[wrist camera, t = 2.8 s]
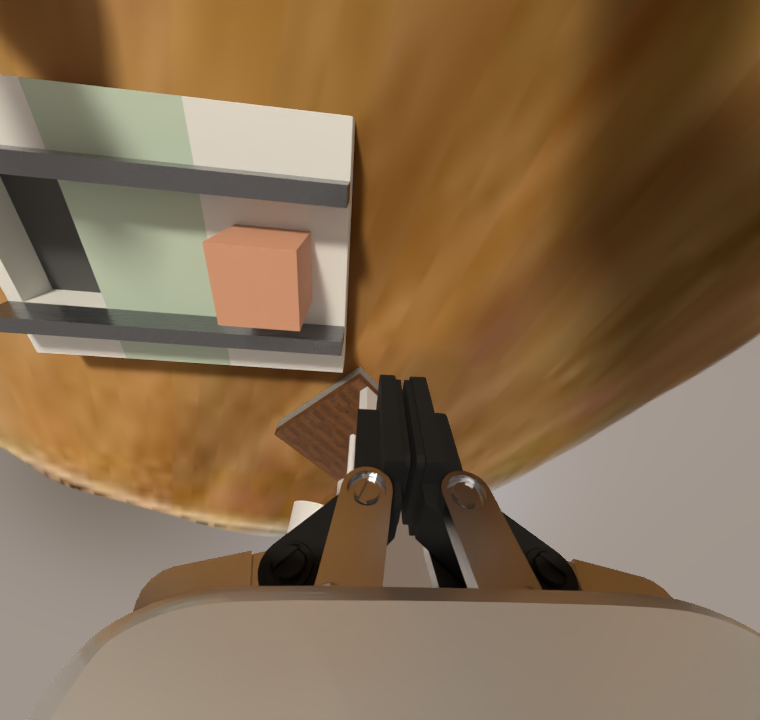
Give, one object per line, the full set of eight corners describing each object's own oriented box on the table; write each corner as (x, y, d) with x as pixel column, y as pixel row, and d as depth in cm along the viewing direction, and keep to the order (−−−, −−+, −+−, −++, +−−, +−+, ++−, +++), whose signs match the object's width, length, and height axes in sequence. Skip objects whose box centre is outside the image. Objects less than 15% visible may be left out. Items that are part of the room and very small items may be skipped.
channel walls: (350, 181, 20) (347, 185, 18) (343, 339, 27) (341, 355, 25) (-83, 135, 19) (-141, 134, 17) (16, 315, 25) (-16, 330, 23)
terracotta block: (311, 231, 22) (296, 250, 18) (312, 300, 25) (299, 331, 21) (235, 224, 22) (202, 241, 18) (244, 295, 24) (218, 325, 20)
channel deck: (355, 120, 21) (352, 116, 19) (345, 354, 31) (342, 372, 28) (-62, 71, 20) (-126, 59, 17) (65, 334, 29) (37, 352, 27)
